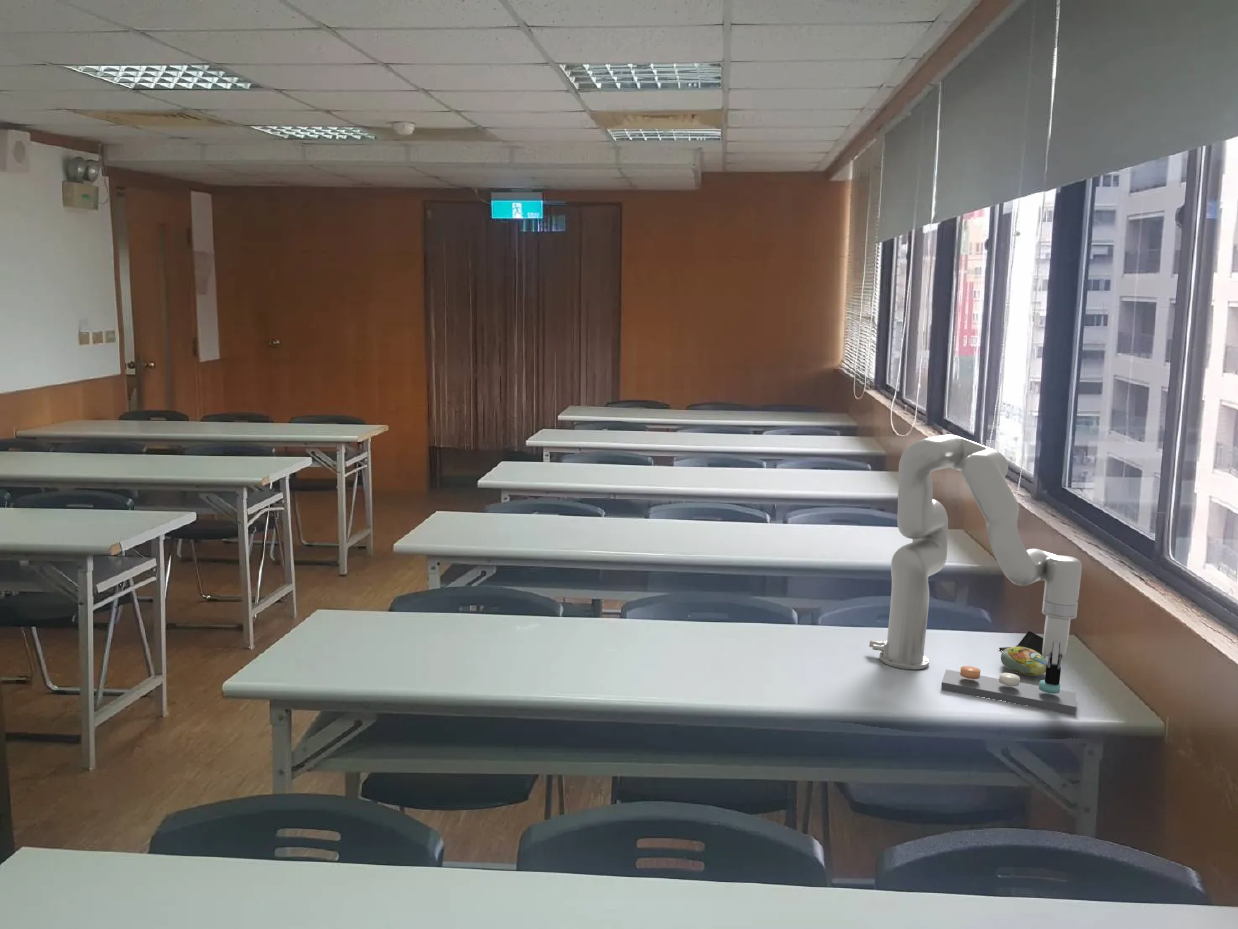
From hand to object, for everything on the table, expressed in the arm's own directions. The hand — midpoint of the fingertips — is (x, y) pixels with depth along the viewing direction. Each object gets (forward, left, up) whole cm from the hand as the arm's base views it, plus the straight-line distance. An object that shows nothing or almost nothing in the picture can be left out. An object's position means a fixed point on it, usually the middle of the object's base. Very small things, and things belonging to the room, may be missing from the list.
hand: (1051, 683), depth 241 cm
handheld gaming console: (-6, +34, -6) cm, 35 cm away
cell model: (-6, +21, -5) cm, 22 cm away
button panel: (-9, 0, -5) cm, 11 cm away
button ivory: (-9, 0, -2) cm, 10 cm away
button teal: (0, 0, -2) cm, 2 cm away
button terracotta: (-18, 0, -2) cm, 19 cm away
